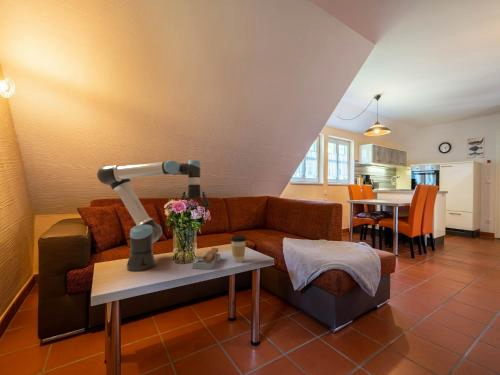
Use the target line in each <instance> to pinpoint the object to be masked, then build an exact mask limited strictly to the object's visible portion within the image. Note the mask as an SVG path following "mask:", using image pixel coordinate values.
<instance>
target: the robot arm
mask: <svg viewBox="0 0 500 375" xmlns="http://www.w3.org/2000/svg"><path fill="white" fill-rule="evenodd" d="M163 175H165V176H167V175H171V176H188V177H187V179H188V183H187V184H188V185H187V186H188V188H187V189H188V191H183V194H182V196H181V199H180V201H181V200H184V201H186V200H187V201H188V202H190V200H191V199H192V200H194V199H195V200H199V202H200V203H201V204H202V205H203V208H204V216H203V215H202V216H203V219H205V218H206V217H205V212H206V213H208V207H210V206H211V203H210V202H209V199H208V197H207V196H206V195H207V194H206V192H205V191H201V162H200V160H197V159H189V160H188V162H187V163H184V162H183V163H181V162H177V161H176V160H173V159H169V160H167V161H161V162H160V161H159V162H149V163H142V164H130V165H129V164H128V165H119V164H112V165H109V164H108V165H103V166H101V167H100V168H99V169H98V170H97V172H96V176H97V177H96V178H97V179H98V181H99V182H100V183H101V184H103V185H107V186H108V185H109V186H110V187H111V190H112V191H113V192H116V193H117V194H118V196H119V198H120V199H121V201H122V204H123V205H124V206H125V208H126V210H127V211H128V213H129V215H130V216H131V218H132V220H133V222H134V223H135V226H133V227H131V228H130V232H129V237H130V238H129V247H130V249H129V258H128V260H127V263H126V270H127V271H130V272H142V271H147V270H150V269H153V268H154V267H156V261H157V260H156V259H155V256H154V252H153V243H156V242H157V241H159V239H160V238H161V236H162V234H163V230H162V229H163V228H162V226H161V225H160V224H158V223H157V222H156V221H155V219H154V218H152V217H150V216H149V214H148V212H146V211H147V210H146V209H145V208H144V206H143V204H142V203H141V200H140V199H139V198H138V196H137V194H136V193H135V190H134V189H133V187H132V181H131V179H138V178H147V177H155V176H156V177H157V176H163ZM201 196H202V197H201ZM203 208H202V209H203Z"/></svg>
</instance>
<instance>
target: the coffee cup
mask: <svg viewBox="0 0 500 375" xmlns="http://www.w3.org/2000/svg"><path fill="white" fill-rule="evenodd" d="M230 242H231V252H232V257H233V258H232V260H233V262H234V263H237V264H239V263H240V264H241V263H244V259H245V252H246V244H247V243H246V242H247V237H246V236H244V235H232V236H231V238H230Z"/></svg>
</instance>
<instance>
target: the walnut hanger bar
mask: <svg viewBox="0 0 500 375" xmlns="http://www.w3.org/2000/svg"><path fill="white" fill-rule="evenodd" d="M218 252H219V247H211V248H210V249H209V250H208V251H206V252H205V253H206V254H205V255H204V256H203V260H206V263H210V260H215V264H217V262H216V254H218Z"/></svg>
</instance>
